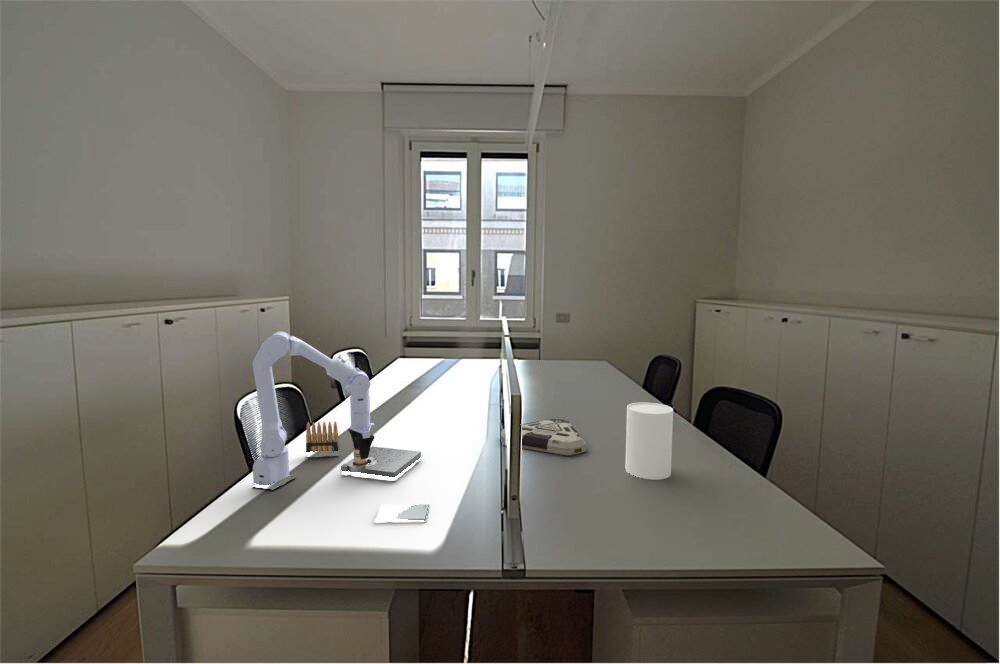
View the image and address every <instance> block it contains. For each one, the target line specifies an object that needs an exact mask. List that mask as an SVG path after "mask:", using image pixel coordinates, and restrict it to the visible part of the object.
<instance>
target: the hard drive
mask: <svg viewBox="0 0 1000 664" xmlns="http://www.w3.org/2000/svg"><path fill="white" fill-rule="evenodd" d="M418 504H419V503H418ZM428 507H429V508H430V504H428V503H422V504H421V503H420V504H419V505H414V506H411V508H410V507H409V509H407V510H406V511H405V510H404V511H403V512H402V513H401V512H400V513H401V514H400V513H399V514H398V517H396V518H398V519H399V518H400V519H408V520H424V521H425V520H426V521H427V518H426V516H428V514H427V511H428V512H429V509H428Z"/></svg>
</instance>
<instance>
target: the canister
mask: <svg viewBox="0 0 1000 664" xmlns="http://www.w3.org/2000/svg"><path fill="white" fill-rule="evenodd" d="M673 424H674V408H673V407H671V406H669V405H666V404H663V403H657V402H647V401H645V402H644V401H642V402H640V401H639V402H632V403H629V404H627V405H626V431H625V432H626V433H625V434H626V435H625V467H624V468H625V469H626V470H625V469H624V470H625V471H626V473H627V474H629V473H630V474H629V475H631V476H633V475H634V476H633V477H635V476H636V477H635V478H638V477H639V478H638V479H642V478H643V479H644V480H650V481H651V480H653V481H654V480H656V481H657V480H658V481H659V480H665V479H667V478H669V477H671V475H672V452H673V450H672V449H673V426H674V425H673Z"/></svg>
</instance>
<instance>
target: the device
mask: <svg viewBox="0 0 1000 664" xmlns="http://www.w3.org/2000/svg"><path fill="white" fill-rule="evenodd" d="M521 424H522V449H521V450H527V451H528V450H529V451H533V452H537V453H538V452H539V453H543V452H544V453H545V454H549V455H550V454H551V455H555V454H556V456H560V455H562V456H561V457H574V456H577V454H578V455H581V453H582V454H585V453H587V442H586V440H584V438H583V437H582V435H581V434H580V433H579V431H578V430H577V429H576V428H575V427H574V425H573V424H572V423H570V422H569V420H566V419H561V418H556V419H555V418H550V419H545V420H540V421H539V420H538V421H533V422H527V423H521ZM504 439H505V428H503V429H502V430H501V431H500V443H501V442H502V443H503V442H504ZM502 443H501V444H502ZM523 448H524V449H523ZM573 455H574V456H573Z"/></svg>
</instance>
